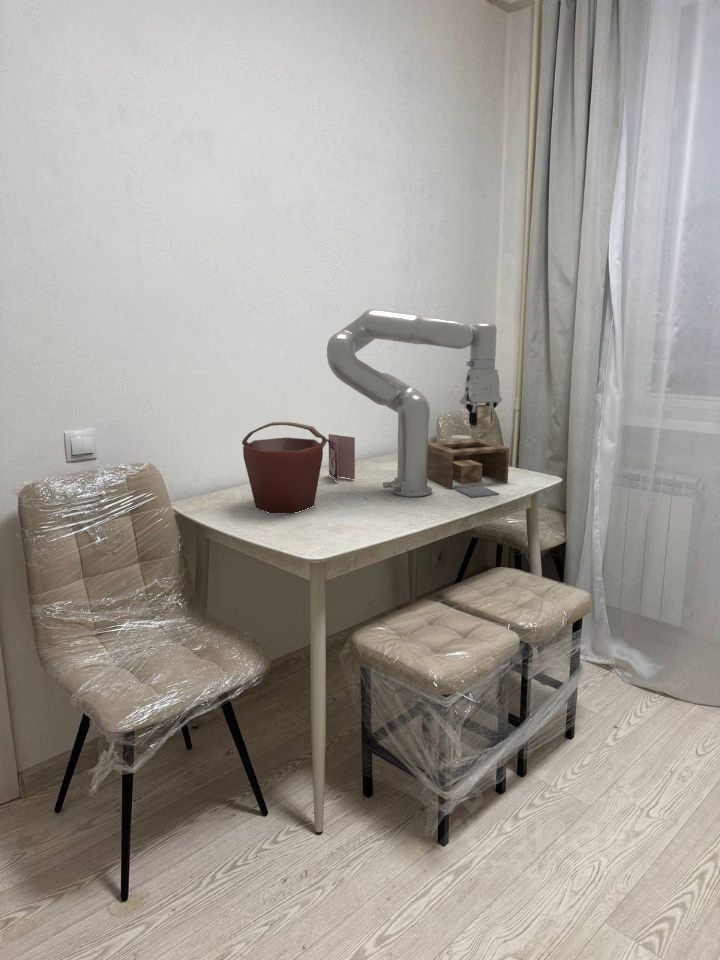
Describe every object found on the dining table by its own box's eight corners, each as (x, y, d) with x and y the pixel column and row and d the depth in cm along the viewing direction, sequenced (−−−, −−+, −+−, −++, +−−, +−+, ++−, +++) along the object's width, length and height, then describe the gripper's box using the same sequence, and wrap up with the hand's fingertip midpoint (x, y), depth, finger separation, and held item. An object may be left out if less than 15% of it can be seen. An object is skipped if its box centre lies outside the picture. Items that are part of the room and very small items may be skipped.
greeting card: (326, 476, 234) (326, 434, 230) (346, 474, 236) (346, 433, 232) (335, 483, 223) (335, 439, 220) (356, 482, 225) (356, 438, 222)
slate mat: (471, 498, 205) (471, 496, 205) (455, 490, 214) (455, 488, 214) (499, 494, 209) (499, 493, 209) (482, 487, 218) (482, 486, 218)
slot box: (449, 489, 216) (450, 452, 213) (424, 477, 232) (425, 443, 229) (507, 483, 224) (509, 448, 221) (479, 471, 240) (480, 439, 237)
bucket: (338, 501, 202) (337, 419, 196) (305, 521, 182) (303, 431, 176) (267, 493, 211) (264, 415, 205) (228, 512, 191) (224, 425, 185)
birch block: (477, 429, 204) (478, 406, 202) (470, 427, 208) (470, 405, 206) (490, 428, 205) (491, 406, 204) (482, 426, 209) (483, 404, 208)
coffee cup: (444, 467, 247) (445, 435, 245) (465, 465, 250) (466, 434, 247) (454, 472, 240) (455, 439, 237) (475, 470, 242) (477, 438, 239)
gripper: (464, 366, 196) (462, 428, 200) (513, 364, 202) (510, 424, 206) (451, 364, 202) (450, 424, 207) (499, 363, 208) (496, 421, 213)
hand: (480, 423), depth 206 cm, fingers closed on birch block, 4 cm apart
